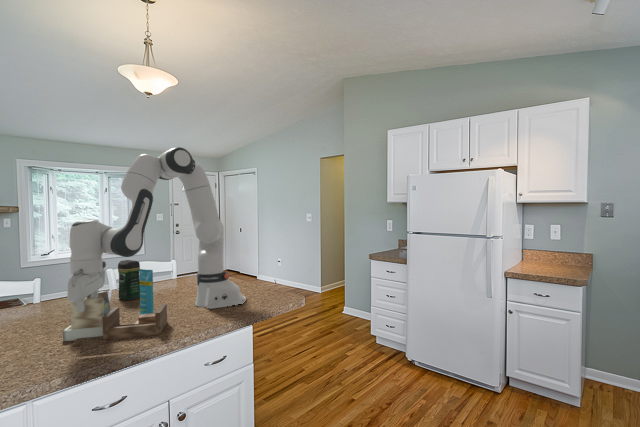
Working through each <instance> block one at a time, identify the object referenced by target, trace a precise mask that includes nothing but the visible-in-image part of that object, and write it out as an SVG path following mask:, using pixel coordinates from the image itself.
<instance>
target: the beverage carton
mask: <svg viewBox="0 0 640 427" xmlns="http://www.w3.org/2000/svg"><path fill="white" fill-rule="evenodd" d="M97 298H104V316H105V315H106V314H107V313H108V312H109V311H111V309H110V306H111V305H110V298H109V294H108V292H107V291H103V292H99V293H98V296H97ZM86 299H91V294H90V295H89V296H87V297H86Z"/></svg>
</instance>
